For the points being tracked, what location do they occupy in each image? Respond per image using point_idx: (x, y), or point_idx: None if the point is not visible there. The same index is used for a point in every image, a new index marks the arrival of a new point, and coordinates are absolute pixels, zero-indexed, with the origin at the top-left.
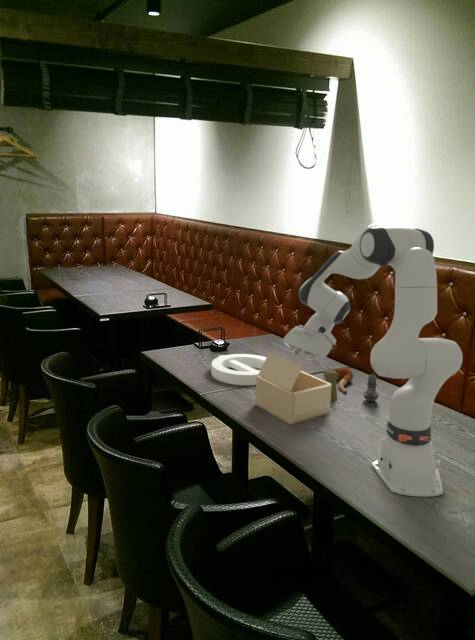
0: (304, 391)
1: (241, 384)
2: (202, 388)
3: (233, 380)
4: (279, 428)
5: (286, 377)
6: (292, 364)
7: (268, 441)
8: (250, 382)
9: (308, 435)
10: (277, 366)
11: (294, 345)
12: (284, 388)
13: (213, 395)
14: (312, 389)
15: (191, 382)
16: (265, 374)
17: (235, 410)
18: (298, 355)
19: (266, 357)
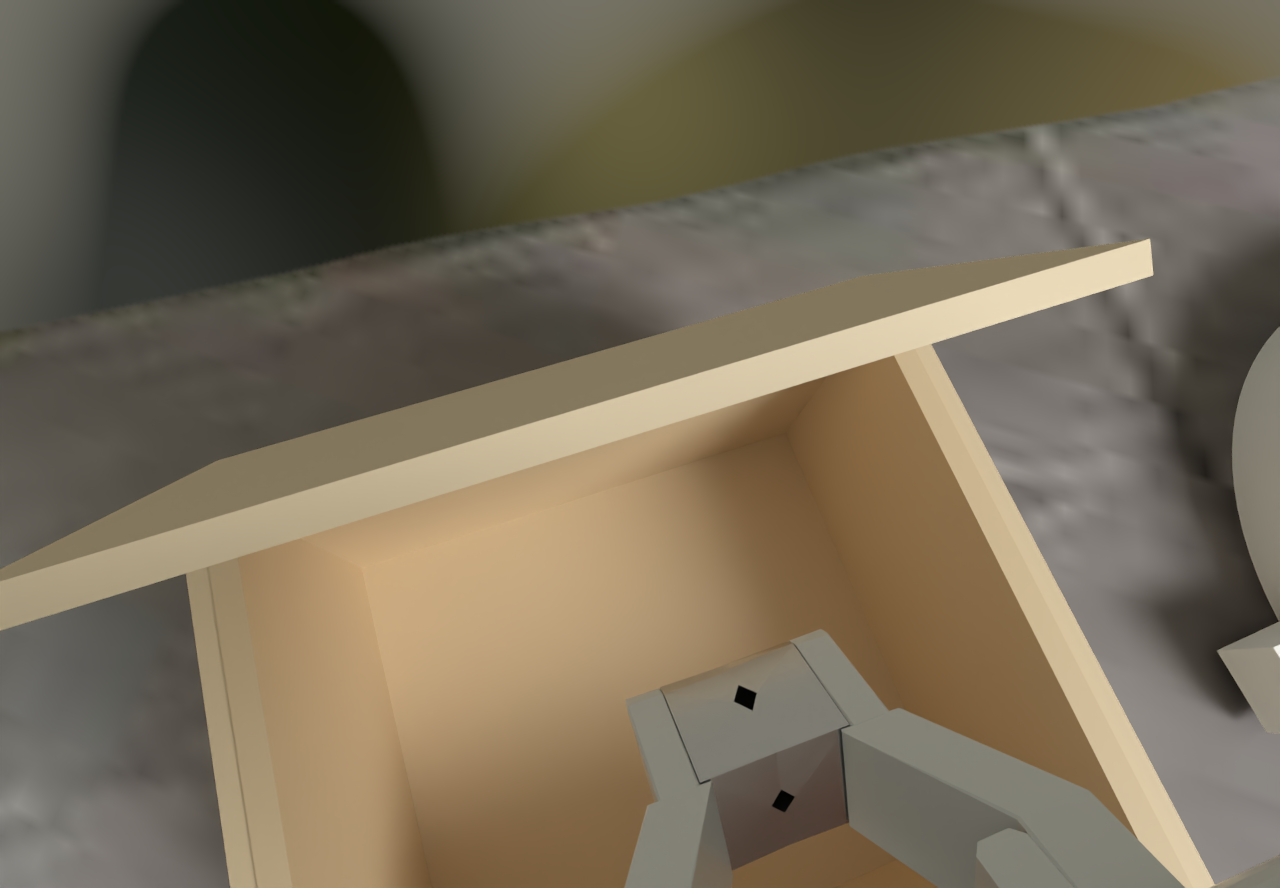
0: (224, 699)
1: (1237, 433)
2: (1137, 156)
3: (1277, 364)
4: None
5: (360, 433)
6: (303, 485)
7: (141, 309)
8: (1261, 502)
9: (93, 630)
10: (675, 353)
11: (1256, 876)
12: (947, 712)
13: (1000, 190)
14: (248, 863)
15: (1253, 118)
16: (770, 306)
17: (707, 254)
18: (670, 823)
19: (1053, 252)
